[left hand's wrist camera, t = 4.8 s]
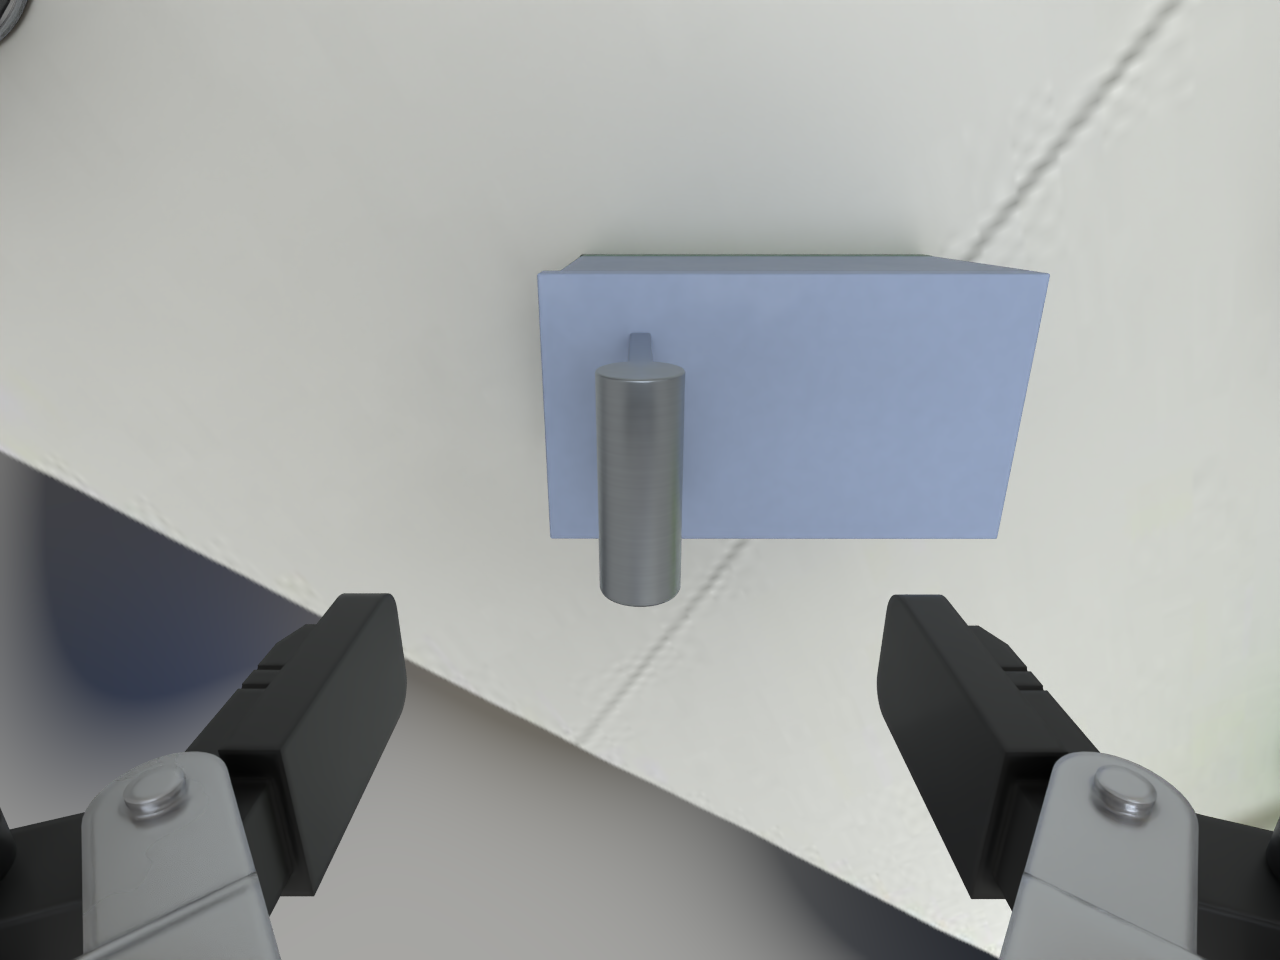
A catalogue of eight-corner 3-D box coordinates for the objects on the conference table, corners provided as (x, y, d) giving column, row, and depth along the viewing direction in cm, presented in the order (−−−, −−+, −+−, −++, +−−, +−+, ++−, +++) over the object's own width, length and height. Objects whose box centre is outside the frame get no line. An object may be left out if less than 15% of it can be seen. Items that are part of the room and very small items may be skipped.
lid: (553, 526, 27) (515, 664, 19) (541, 270, 24) (487, 301, 15) (983, 526, 27) (1134, 664, 19) (1032, 270, 24) (1243, 301, 15)
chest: (587, 447, 36) (569, 525, 27) (582, 254, 33) (559, 270, 24) (896, 447, 36) (982, 525, 27) (922, 254, 33) (1031, 270, 24)
